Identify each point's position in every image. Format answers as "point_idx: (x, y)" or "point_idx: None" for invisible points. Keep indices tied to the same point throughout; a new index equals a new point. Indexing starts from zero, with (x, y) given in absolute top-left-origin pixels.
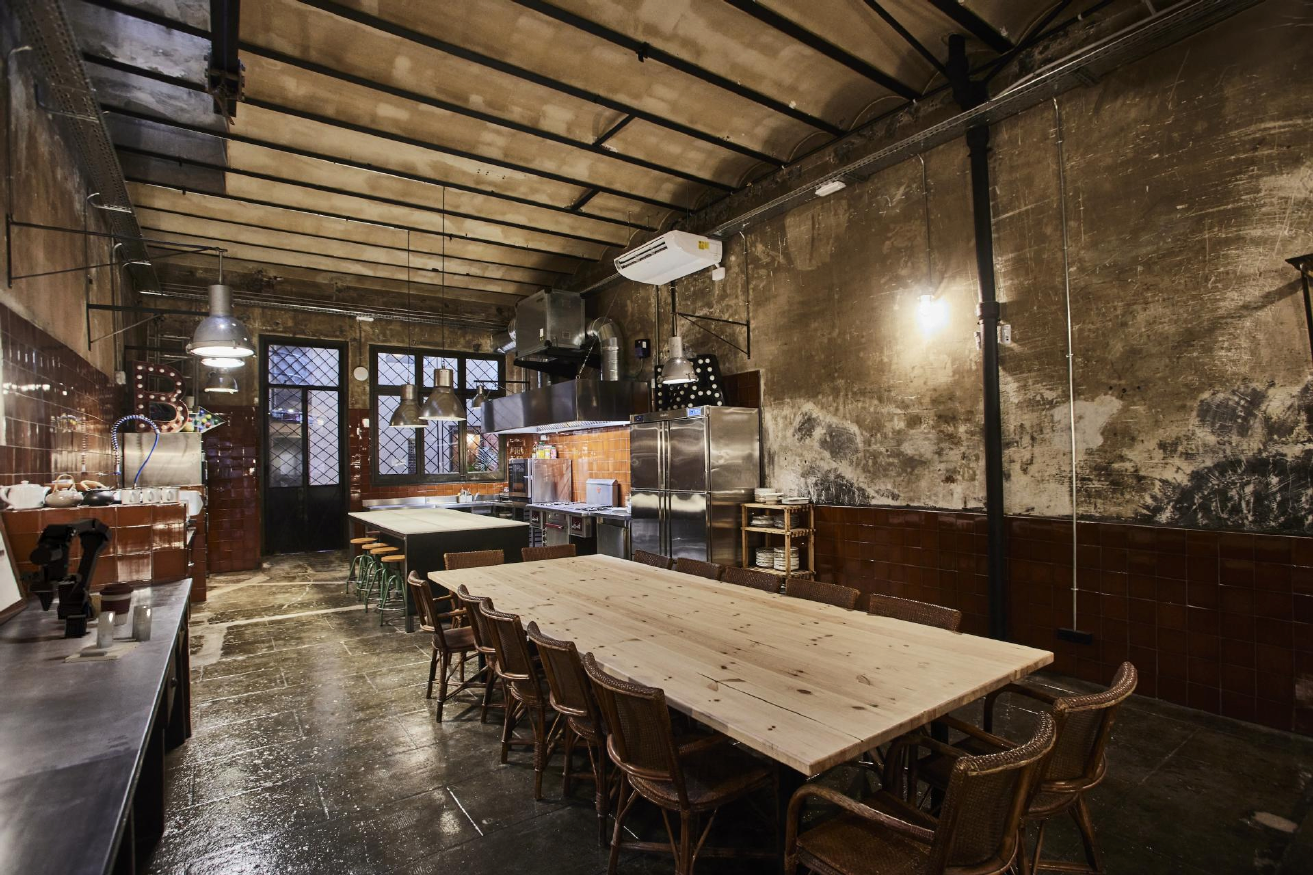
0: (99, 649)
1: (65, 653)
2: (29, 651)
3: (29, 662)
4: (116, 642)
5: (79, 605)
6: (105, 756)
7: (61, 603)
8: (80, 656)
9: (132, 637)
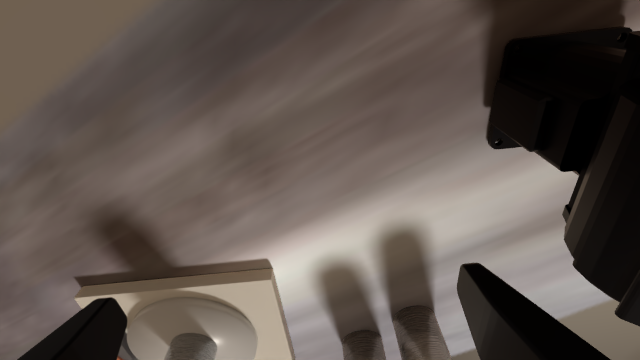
0: (161, 348)
1: (197, 228)
2: (229, 57)
3: (52, 182)
4: (255, 349)
5: (612, 277)
6: None
7: (468, 294)
8: None
9: (399, 315)
